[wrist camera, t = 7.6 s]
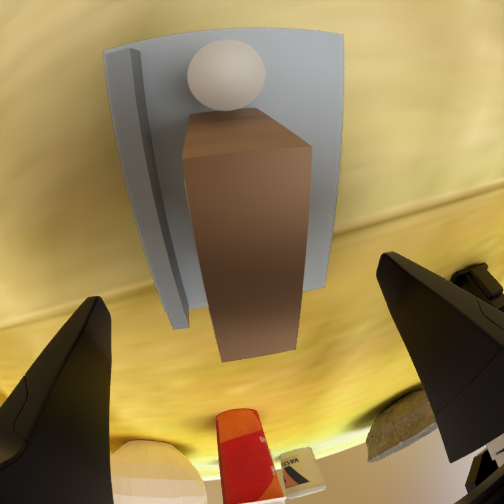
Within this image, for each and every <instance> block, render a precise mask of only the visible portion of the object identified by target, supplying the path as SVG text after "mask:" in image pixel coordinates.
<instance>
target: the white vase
mask: <svg viewBox="0 0 504 504" xmlns="http://www.w3.org/2000/svg"><path fill="white" fill-rule="evenodd" d="M110 468H111V482H112V491H113V500H114V504H207V495H206V491H205V487H204V482H203V480H202V478H201V477H200V475H199V473H198V471H197V470H196V468H195V467H194V466H193V465H192V464H191V462H190V461H189V460H188V459H187V458H186V457H185V456H184V455H183V454H182V453H181V452H180V451H179V450H178V449H176V448H175V447H174V446H173V445H170V444H167V443H163V442H158V441H149V440H132V441H128V442H126V443H125V444H124V445H122V446H121V447H120V448H119V449H118V450H116V451H115V452H114V453H113V454H112V455H111V456H110Z"/></svg>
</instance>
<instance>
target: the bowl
mask: <svg viewBox="0 0 504 504" xmlns="http://www.w3.org/2000/svg"><path fill="white" fill-rule="evenodd" d="M434 416H435V415H434V414H433V411H432V408H431V406H430V403H429V401H428V398H427V395H426V393H425V390H419V391H415V392H412V393H410V394H408V395H406V396H404V397H403V398H401V399H400V400H398V401H397V402H395V403H394V404H392V405H391V406H389V407H388V408H387V409H385V410H384V411H383V412H382V413H381V414H380V415H379V416H378V417H377V419H376V420H375V422H374V424H373V425H372V427H371V429H370V432H369V433H368V436H367V439H366V444H367V447H368V463H371V462H375V461H378V460H380V459H382V458H385V457H386V456H389V455H391V454H393V453H395V452H397V451H399V450H401V449H403V448H405V447H407V446H409V445H411V444H412V443H414V442H415V441H417V440H419V439H420V438H422V437H424V436H426V435H427V434H429V433H431V432H432V431H434V430H435V429H437V428H438V425H437V423H436V420H435V417H434Z"/></svg>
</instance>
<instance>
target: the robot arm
mask: <svg viewBox="0 0 504 504" xmlns="http://www.w3.org/2000/svg"><path fill="white" fill-rule="evenodd" d="M487 268H488V265H487V264H486V263H485V264H482V265H479V266H475V267H472V268H469V269H466V270H463V271H460V272H457V273H456V274H455V275H454V276H453V278H452V281H451V282H449V281H448V280H446V279H444V278H442V277H440V276H439V275H437V274H435V273H433V272H431V271H429V270H428V269H426V268H424V267H422V266H420V265H418V264H416V263H415V262H413V261H411V260H409V259H407V258H405V257H403V256H401V255H399V254H397V253H395V252H393V251H391V252H385V253H383V254H382V255H381V257H380V261H379V264H378V268H377V272H376V277H377V280H378V283H379V285H380V288H381V290H382V293H383V295H384V298H385V301H386V303H387V306H388V309H389V311H390V314H391V316H392V318H393V320H394V322H395V325H396V327H397V329H398V331H399V333H400V335H401V337H402V339H403V341H404V344H405V346H406V348H407V350H408V352H409V355H410V357H411V359H412V362H413V364H414V366H415V368H416V371H417V373H418V376H419V378H420V380H421V383H422V385H423V388H424V390H425V393H426V395H427V398H428V401H429V403H430V406H431V408H432V411H433V414H434V415H435V416H434V417H435V420H436V423H437V425H438V428H439V431H440V434H441V437H442V440H443V443H444V446H445V449H446V453H447V456H448V459H449V462H450V463H453V462H455V461H457V460H459V459H461V458H462V457H464V456H466V455H468V454H470V453H472V452H474V451H475V450H477V449H479V448H481V447H482V446H484V445H486V446H487V448H485V449H484V450H483V451H482V452H480V453H479V454H478V455H477V456H475V457H474V459H473V462H472V465H471V469H470V472H469V475H468V478H467V481H466V484H465V487H466V490H467V492H468V494H467V495H466V496H464V497H463V498H462V499H460V500H459V501H458V502H456V503H454V504H504V294H503V287H502V286H501V285H500V284H499V283H498V282H497V280H496V279H495V278H494V277H493V276H492V275H491V274H490V273H489V272H488V271H487ZM111 364H112V355H111V316H110V313H109V311H108V309H107V307H106V306H105V304H104V302H103V300H102V298H101V297H100V296H92V297H88V298H87V299H86V300H85V301H84V302H83V303H82V304H81V305H80V307H79V308H78V309H77V310H76V311H75V312H74V313H73V315H72V316H71V317H70V318H69V319H68V320H67V322H66V323H65V324H64V325H63V326H62V328H61V329H60V330H59V331H58V332H57V334H56V335H55V336H54V337H53V339H52V340H51V341H50V342H49V344H48V345H47V346H46V347H45V349H44V350H43V351H42V352H41V354H40V355H39V356H38V358H37V359H36V360H35V362H34V363H33V364H32V366H31V367H30V368H29V370H28V371H27V372H26V374H25V376H23V378H22V379H21V380H20V382H19V383H18V385H17V386H16V387H15V389H14V390H13V391H12V393H11V394H10V396H9V397H8V398H7V399H6V401H5V402H4V403H3V405H2V406H1V407H0V504H114V500H113V491H112V482H111V468H110V446H109V405H110V381H111Z"/></svg>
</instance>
